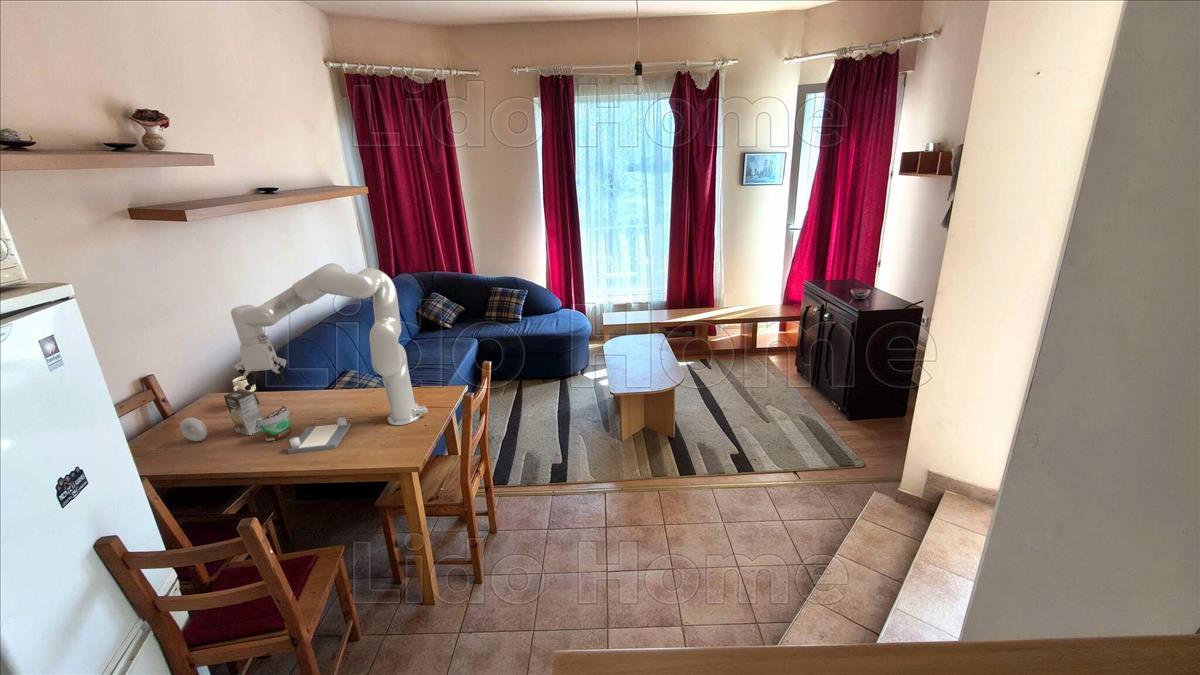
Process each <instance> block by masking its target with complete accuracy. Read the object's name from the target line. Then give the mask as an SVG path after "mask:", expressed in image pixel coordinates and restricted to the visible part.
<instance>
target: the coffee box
mask: <svg viewBox="0 0 1200 675" xmlns="http://www.w3.org/2000/svg"><path fill="white" fill-rule="evenodd" d="M253 392H254V391H253ZM253 392H250V391H246V390H242V389H239V390H236V391H234V390H233V391H232V392H229V393H227V394H225V395H223V398H224V401H225V403H226V406H227V410H228V412H229V415H230V419H231V421H232V423H233V426H234V429H235V432H237V433H239V434H241V435H245V434H246V436H248V435H251V436H252V434H253V435H255V434H257V433H258V431H259V432H261V431H262V430H261V428H260V426H258V424H257V422H258V421H257V420H263V417H262V415H261V412H260V409H259V406H258V402H256V399H255V396H254V393H255V392H254V393H253ZM260 430H261V431H260ZM256 432H257V433H256ZM254 433H255V434H254Z"/></svg>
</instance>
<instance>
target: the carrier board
mask: <svg viewBox="0 0 1200 675" xmlns="http://www.w3.org/2000/svg"><path fill="white" fill-rule="evenodd" d="M336 422H337V423H335V424H328V425H317V426H309V427H306V428H305V430H303V432H302V433H301V435H299V436H294V437H292V438H289V444H290V447H289V448H287V452H288V454H289V455H290V454H300V453H308V452H317V451H325V450H333V449H336V448H338V446H339V444H340V443H341V442H342V440H343V439H344V437H345V436H344V435H346V434H347V433H348V431H349V430H350V428H351V427H352V424H351V422H347V419H346V417H345V416H341V417H338V418H337V419H336ZM350 426H351V427H350ZM349 427H350V428H349ZM348 429H349V430H348ZM346 432H347V433H346ZM342 438H343V439H342Z"/></svg>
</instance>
